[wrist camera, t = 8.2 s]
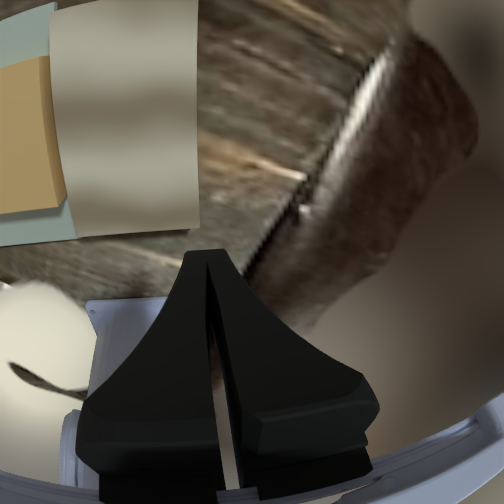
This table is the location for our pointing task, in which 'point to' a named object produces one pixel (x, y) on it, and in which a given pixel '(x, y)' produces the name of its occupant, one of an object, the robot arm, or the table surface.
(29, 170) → the tan rectangular block
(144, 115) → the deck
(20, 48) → the mat
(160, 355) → the robot arm
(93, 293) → the table surface
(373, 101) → the table surface
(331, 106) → the table surface
